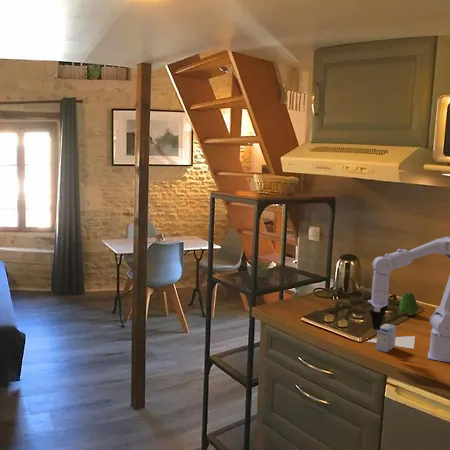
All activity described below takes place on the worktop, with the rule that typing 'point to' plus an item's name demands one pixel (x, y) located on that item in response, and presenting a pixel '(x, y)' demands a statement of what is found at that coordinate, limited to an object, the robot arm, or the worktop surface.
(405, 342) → the card
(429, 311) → the worktop surface
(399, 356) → the worktop surface
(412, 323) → the worktop surface
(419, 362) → the worktop surface
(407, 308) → the avocado
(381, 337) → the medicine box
